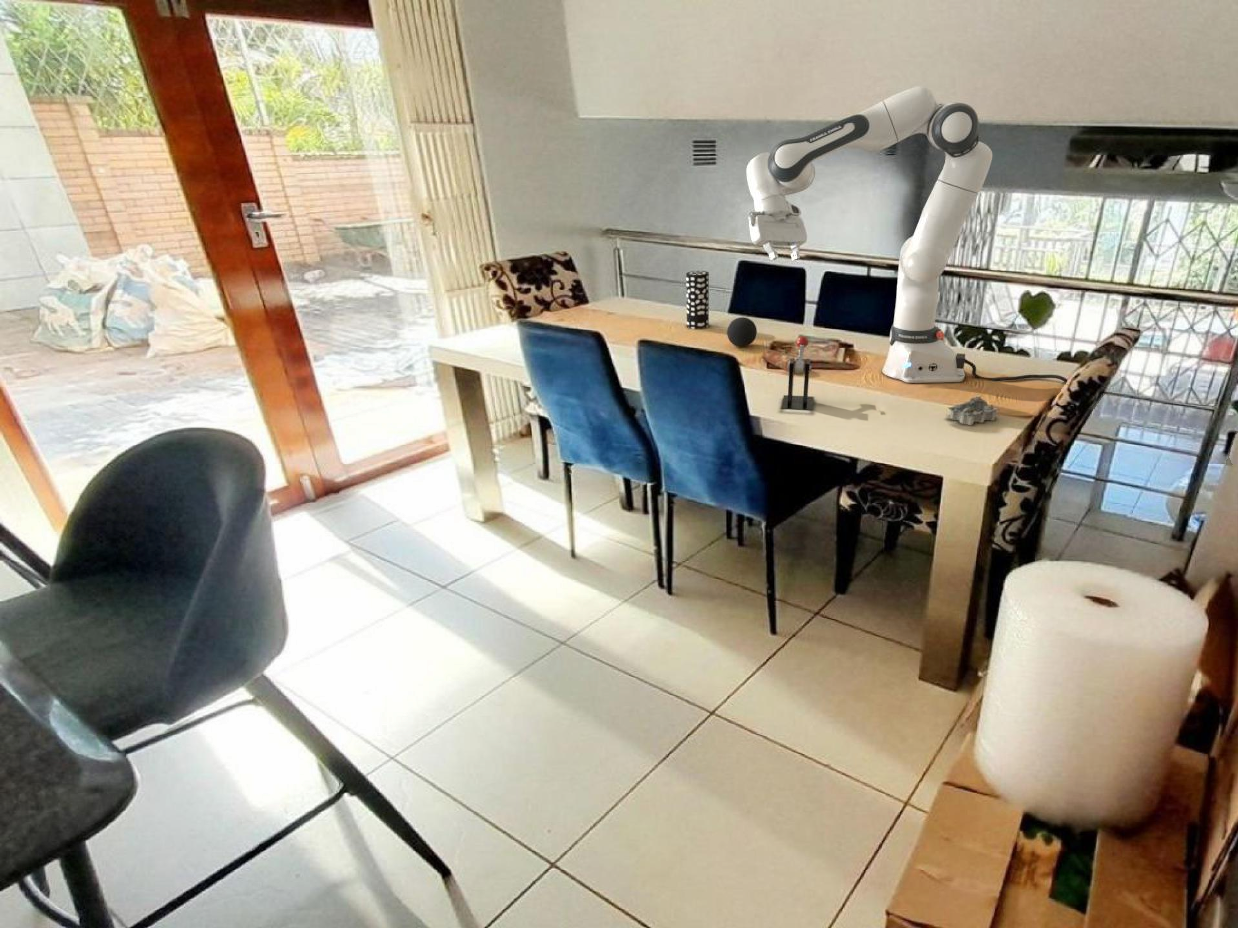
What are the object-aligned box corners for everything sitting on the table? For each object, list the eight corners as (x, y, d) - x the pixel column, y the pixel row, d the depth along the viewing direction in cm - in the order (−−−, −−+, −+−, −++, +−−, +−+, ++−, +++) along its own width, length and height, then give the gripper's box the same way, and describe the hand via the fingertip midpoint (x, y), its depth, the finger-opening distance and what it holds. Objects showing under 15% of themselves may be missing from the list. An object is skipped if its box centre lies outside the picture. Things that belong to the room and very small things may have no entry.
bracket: (783, 399, 195) (785, 354, 190) (813, 400, 193) (816, 355, 188) (780, 412, 187) (782, 366, 181) (811, 414, 185) (814, 367, 179)
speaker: (751, 351, 236) (752, 322, 232) (723, 349, 241) (723, 320, 236) (759, 343, 244) (760, 315, 240) (732, 341, 248) (732, 313, 244)
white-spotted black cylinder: (712, 324, 270) (712, 271, 262) (702, 329, 264) (702, 276, 255) (692, 322, 274) (692, 270, 266) (683, 327, 268) (682, 274, 260)
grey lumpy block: (978, 410, 181) (981, 395, 179) (1000, 420, 175) (1003, 405, 173) (943, 416, 179) (946, 401, 177) (964, 426, 172) (967, 411, 170)
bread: (790, 378, 211) (791, 360, 208) (758, 361, 227) (759, 344, 224) (808, 374, 212) (810, 356, 210) (775, 358, 229) (776, 341, 226)
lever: (796, 342, 194) (797, 333, 191) (808, 342, 193) (809, 334, 190) (792, 375, 186) (793, 366, 184) (805, 375, 185) (805, 367, 183)
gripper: (755, 205, 189) (769, 253, 188) (803, 209, 201) (816, 254, 200) (739, 216, 194) (752, 263, 193) (787, 219, 206) (799, 264, 205)
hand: (785, 259), depth 196 cm, fingers open, 8 cm apart
